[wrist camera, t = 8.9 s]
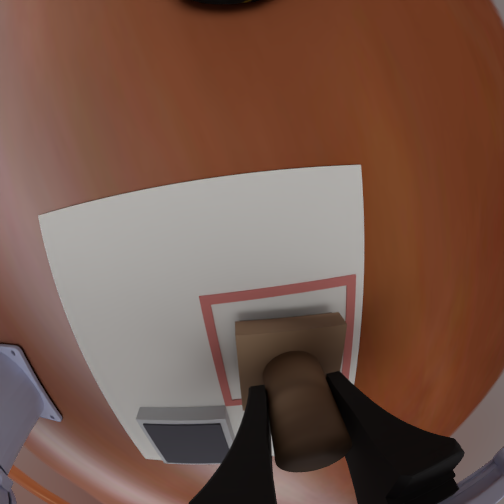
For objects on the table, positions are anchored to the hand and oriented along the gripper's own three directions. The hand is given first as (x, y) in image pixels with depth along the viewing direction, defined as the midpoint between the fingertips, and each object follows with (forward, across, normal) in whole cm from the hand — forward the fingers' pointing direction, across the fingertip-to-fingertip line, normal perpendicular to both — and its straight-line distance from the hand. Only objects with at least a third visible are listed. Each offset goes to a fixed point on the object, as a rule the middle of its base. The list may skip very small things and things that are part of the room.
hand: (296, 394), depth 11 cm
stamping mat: (+4, +4, +1) cm, 6 cm away
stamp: (+3, 0, 0) cm, 3 cm away
